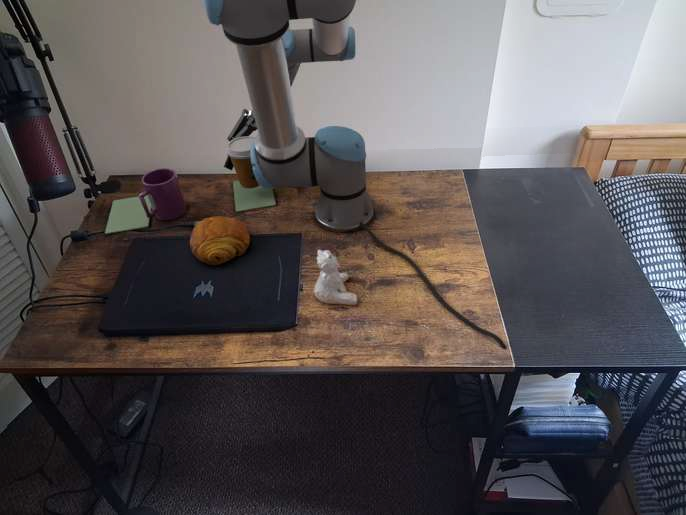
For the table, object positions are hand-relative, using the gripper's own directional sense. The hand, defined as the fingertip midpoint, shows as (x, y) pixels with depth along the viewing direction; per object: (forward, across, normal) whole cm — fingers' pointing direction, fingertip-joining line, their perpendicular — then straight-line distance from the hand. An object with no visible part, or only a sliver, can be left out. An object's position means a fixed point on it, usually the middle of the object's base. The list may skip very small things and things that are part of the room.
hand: (240, 173), depth 124 cm
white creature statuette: (+17, -44, +6) cm, 48 cm away
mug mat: (+22, +22, +11) cm, 33 cm away
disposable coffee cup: (+1, 0, -6) cm, 6 cm away
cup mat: (+4, 0, -8) cm, 9 cm away
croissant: (+19, -11, +7) cm, 23 cm away
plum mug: (+18, +13, +7) cm, 23 cm away
